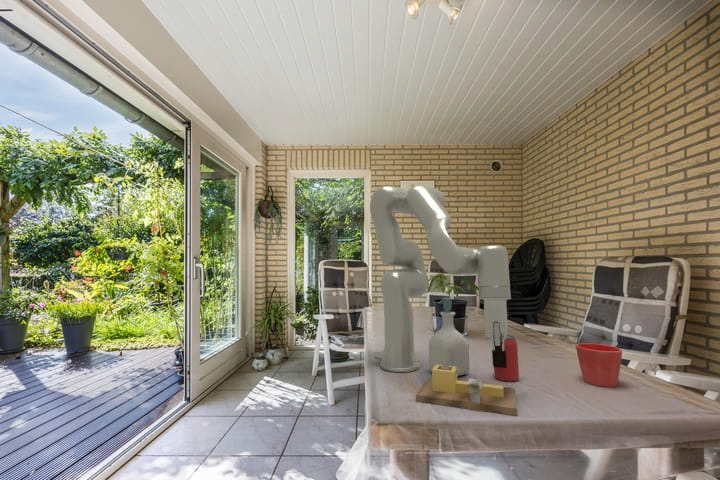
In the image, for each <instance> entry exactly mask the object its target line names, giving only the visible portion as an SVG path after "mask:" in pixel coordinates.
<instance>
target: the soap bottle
mask: <svg viewBox="0 0 720 480" xmlns="http://www.w3.org/2000/svg"><path fill="white" fill-rule="evenodd" d="M452 302H453V299H452V297H451V298H450V297H444V298H443V297H442V300H440V301H439V302H437V304H439V305H440V303H442V304H443V305H442V306H443V310H444V311H440V312H439V315H440V316H441V319H442V325H441V327H440V329H439V330H438V331H436V332H435V333H434V334H433V335H432V336H431V338H430V339H429V341H428V360H429V361H428V363H429V364H428V365H429V370H430V371H431V372H432V369H433V368H434V367H435V365H447V366H457V375H458V377H460V376H463V375H467V374H468V373H469V372H470V347H469V346H470V344H469V341H468V340H467V339H466V338H465V336H463V335H462V334H461V332H459V331H458V330H457V329H456V328H455V325H454V316H455V315H456V312H455V311H451V310H452Z"/></svg>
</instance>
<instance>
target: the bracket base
mask: <svg viewBox="0 0 720 480" xmlns="http://www.w3.org/2000/svg"><path fill="white" fill-rule="evenodd" d="M441 370H449V371H450V368H449V366H447V365H442V366H441ZM467 382H468V388H470V393H463V392H456V393H455V394H454V393H447V392H439V391H433V384H432V378H429V377H428V378H427V379H426V380H425V381H424V383H423V385H422V386H420V388H419V389H418V390H417V393H416V394H415V402H418V403H425V404H430V405H431V404H432V405H438V406H446V407H453V408H461V409H465V410H466V409H467V410H471V411H472V410H474V411H480V412H487V413H493V414H501V415H507V416H515V417H517V416H518V406H517V405H518V404H517V394H516V387H509V386H508V387H507V386H503V392H504V398H503V397H495V396H487V395H480V389H482V385H483V383H484V380H483V379H475V378H469V379H468V380H467Z"/></svg>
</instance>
